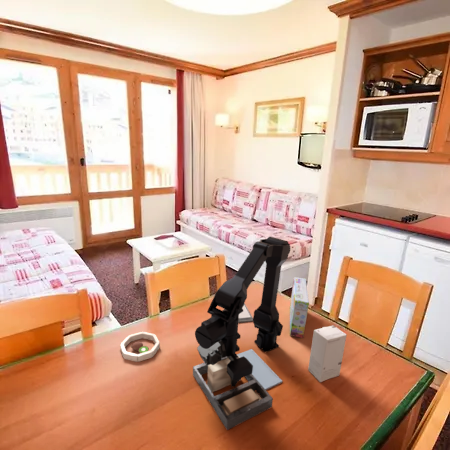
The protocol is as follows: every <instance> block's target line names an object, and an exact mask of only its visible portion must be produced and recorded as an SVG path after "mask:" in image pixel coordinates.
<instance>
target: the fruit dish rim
mask: <svg viewBox="0 0 450 450" xmlns="http://www.w3.org/2000/svg"><path fill="white" fill-rule="evenodd" d="M142 339H144V340H149V341H152V342H153V344H154V345H153V346H152V348H151V349H149V351H147V352H144V353H134V352H129V351H127V350H126V347H127V346H128V345H129V344H130V343H131V342H134V341H137V340H138V341H139V340H142ZM160 344H161V343H160V340H159V339H158V337H157V335H156V334H155V333H152V332H146V331H140V332H136V333H132V334H129V335H127V336H126V337H125V338H124V340H123V341H121V343H120V346H119V347H120V352H121V355H122V357H123V359H124V360H127V361H131V362H138V363H139V362H141V361H145V360H147V359H151V358H153V357H155V355H156V353H157V352H158V351H159V349H160V347H161V346H160Z"/></svg>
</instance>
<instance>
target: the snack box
mask: <svg viewBox="0 0 450 450" xmlns="http://www.w3.org/2000/svg"><path fill="white" fill-rule="evenodd" d="M291 290H292V291H291V294H290V295H291V296H290V304H289V305H290V306H289V336H293V337H296V338H301V339H304V335H305V331H306V330H305V327H306V324H307V319H308V318H307V317H308V310H309V306H310V300H309V294H308V293H309V292H308V284H307V279H306V277H304V278H303V277H298V276H297V277H296V276H294V277H293V282H292V289H291Z"/></svg>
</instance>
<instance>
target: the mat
mask: <svg viewBox="0 0 450 450" xmlns="http://www.w3.org/2000/svg"><path fill="white" fill-rule="evenodd" d="M236 354H237V355H238V356H239V357H243V356H244V357H245V358H247V360H248V361H249V362H250V363H251V364H252V365H253V372H252V375H253V376H254V377H255V378H256V379H257V381H258V382H259V383H260V384H261V385H262V386H263V388H264V389H265V390H266V391H267V390H269V389H271V388H274V387H275V386H278V385H279V384H282V383H283V379H281V378H280V376H278V375H277V374H276V372H274V371H273V370H272V368H271V367H270V366H269V365H268V364H267V363H266V361H264V360H263V359H262V358H261V357H260V356H259V355H258V354H257V353H256V352H255V350H253V349H252V348H250V349H248V350H245V351H243V352H240V353H236Z"/></svg>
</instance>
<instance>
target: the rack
mask: <svg viewBox="0 0 450 450" xmlns="http://www.w3.org/2000/svg"><path fill="white" fill-rule="evenodd" d="M227 358H228V357H227V356H226V357H224V358H222V359H221V360H224V359H227ZM209 365H210V364H209ZM204 374H205V375H206V374H208V365H206V364H205V363H204V362H202V363H199V364H197V365H193V366H192V376H193V377H194V379H195V381H196V382H197V384H198V385H199V387H200V389H201V391H202V392H203V394H204V395H205V397H206V399H207V401H208V402H209V403H210V405H211V406H212V408H213V410H214V412H215V414H216V416H218V419H219V420H220V422H221V423H222V424H223V426H224V427H225V430H226V431H228V430H230V429H233V428H234V427H236V426H239V425H240V424H242V423H244V422H246V421H247V420H249V419H251V418H253V417H256V416H258V415H259V414H261V413H264V412H265V411H267V410H269V409H271V408H272V407H273V402H274V401H273V400H274V397H272V396H271V394H270V393H269V392H268V391H267V390H265V389H264V388H263V386H262V385H261V384H260V383H259V382H258V381H257V379H256V378H255V377H254V376H253V375H252V374H250V375H247V376H245V377H244V378H245V380H246V381H247V382H245V383H243V384H240V385H238V386H237V385H236V386H235V387H233V388H231V389H228V390H226V391H224V392H222V393H219V394H217V395H214V392H211V390H210V389H209V387H208V385H207V381H206V380H204V378H203V376H202V375H204ZM249 389H252V390H253V391H254V390H255V391H256V393H257V394H258V395H259V396H260V397H261V400H259V401H257V402H255V403H253V404H251V405H249V406H246V407H244V408H242V409H240V410H238V411H236V412H234V413H232V414H230V415H228V416H227V415H226V413H225V412H224V410H223V409H222V407H221V406H223V404H224V401H226V400H228V399H230V398H232V397H234V396H237V395H239V394H241V393H243V392H245V391H247V390H249Z"/></svg>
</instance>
